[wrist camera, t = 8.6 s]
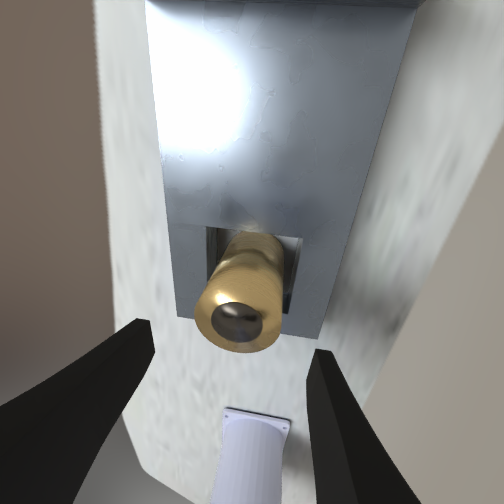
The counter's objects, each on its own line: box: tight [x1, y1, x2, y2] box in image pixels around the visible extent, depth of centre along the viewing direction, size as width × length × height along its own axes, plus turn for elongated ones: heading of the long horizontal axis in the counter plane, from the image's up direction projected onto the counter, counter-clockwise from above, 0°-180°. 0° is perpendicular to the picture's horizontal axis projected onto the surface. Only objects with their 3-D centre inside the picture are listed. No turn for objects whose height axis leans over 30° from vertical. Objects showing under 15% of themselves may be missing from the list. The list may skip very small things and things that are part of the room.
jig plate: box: [145, 0, 425, 340], centre depth 13 cm, size 20×11×5 cm, turn 176°
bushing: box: [194, 231, 284, 353], centre depth 14 cm, size 4×4×7 cm
